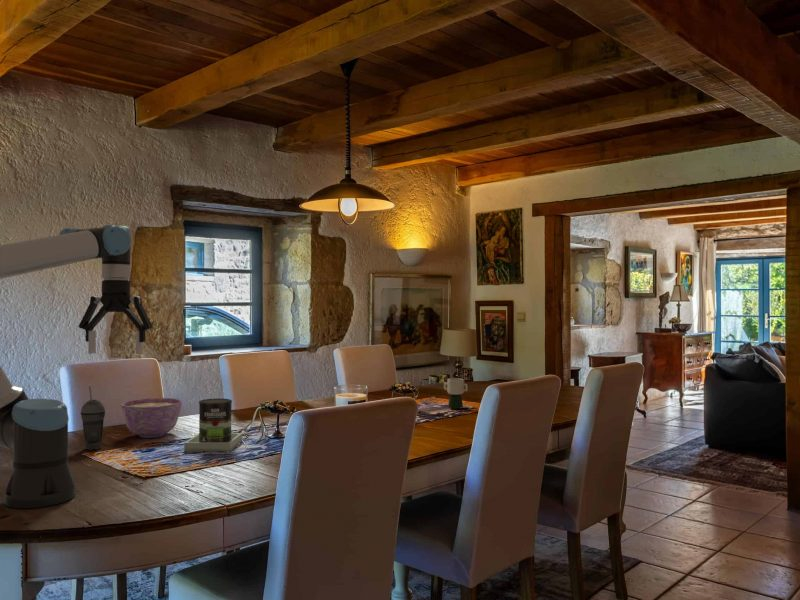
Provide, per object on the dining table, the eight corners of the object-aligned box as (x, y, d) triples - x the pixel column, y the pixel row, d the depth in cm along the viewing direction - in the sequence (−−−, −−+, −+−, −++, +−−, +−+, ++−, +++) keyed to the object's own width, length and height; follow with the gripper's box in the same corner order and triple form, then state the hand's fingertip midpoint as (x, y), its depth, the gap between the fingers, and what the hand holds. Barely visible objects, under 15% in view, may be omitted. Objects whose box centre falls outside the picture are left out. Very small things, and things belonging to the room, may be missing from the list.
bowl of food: (108, 439, 222) (108, 405, 222) (144, 428, 242) (144, 397, 242) (160, 443, 218) (160, 408, 218) (193, 431, 237) (193, 399, 237)
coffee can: (231, 446, 209) (231, 402, 209) (198, 448, 207) (198, 403, 206) (231, 439, 219) (231, 397, 219) (199, 441, 217) (199, 398, 216)
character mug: (470, 408, 284) (470, 378, 284) (464, 411, 278) (464, 380, 278) (446, 406, 289) (446, 377, 289) (440, 409, 283) (440, 379, 283)
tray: (230, 451, 205) (230, 443, 205) (184, 451, 206) (184, 442, 206) (242, 441, 220) (242, 433, 220) (199, 441, 220) (199, 433, 220)
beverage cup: (95, 451, 206) (95, 388, 206) (75, 450, 207) (75, 387, 207) (110, 446, 213) (110, 384, 213) (90, 445, 214) (90, 384, 214)
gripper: (164, 280, 191) (163, 352, 191) (79, 279, 192) (79, 352, 192) (153, 279, 184) (153, 355, 184) (66, 278, 184) (65, 354, 184)
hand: (115, 353), depth 188 cm, fingers open, 13 cm apart
